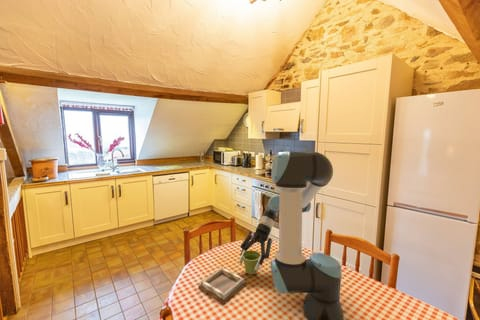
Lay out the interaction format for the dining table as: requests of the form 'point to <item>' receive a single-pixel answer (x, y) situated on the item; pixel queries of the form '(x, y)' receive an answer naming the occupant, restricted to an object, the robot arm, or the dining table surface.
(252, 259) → the plant pot
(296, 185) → the robot arm
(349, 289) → the dining table surface
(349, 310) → the dining table surface
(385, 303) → the dining table surface
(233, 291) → the stand
